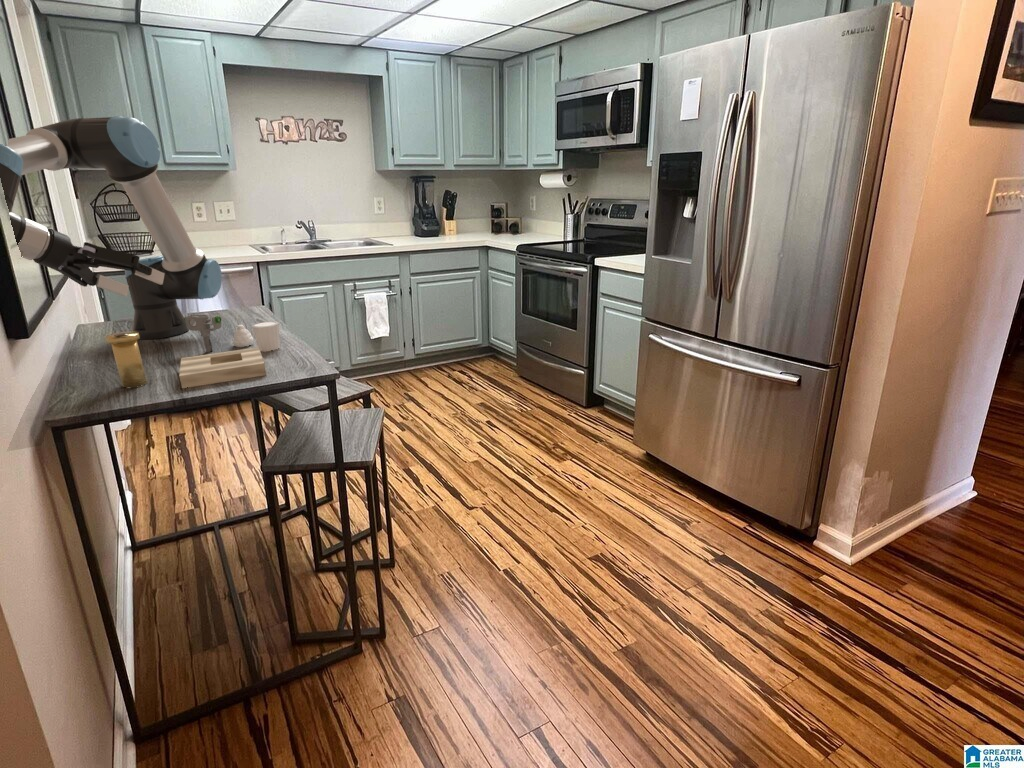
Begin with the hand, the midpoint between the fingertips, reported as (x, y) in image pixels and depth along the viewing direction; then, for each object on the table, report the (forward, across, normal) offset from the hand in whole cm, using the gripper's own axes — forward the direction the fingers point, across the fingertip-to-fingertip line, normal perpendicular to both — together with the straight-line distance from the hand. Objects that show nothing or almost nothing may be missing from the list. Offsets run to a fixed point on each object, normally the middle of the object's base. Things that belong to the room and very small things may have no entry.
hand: (144, 285), depth 138 cm
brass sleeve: (+5, -6, -22) cm, 23 cm away
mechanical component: (+26, -12, -6) cm, 30 cm away
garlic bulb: (+34, -8, -3) cm, 35 cm away
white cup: (+35, +2, -5) cm, 35 cm away
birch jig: (+18, +7, -17) cm, 26 cm away
